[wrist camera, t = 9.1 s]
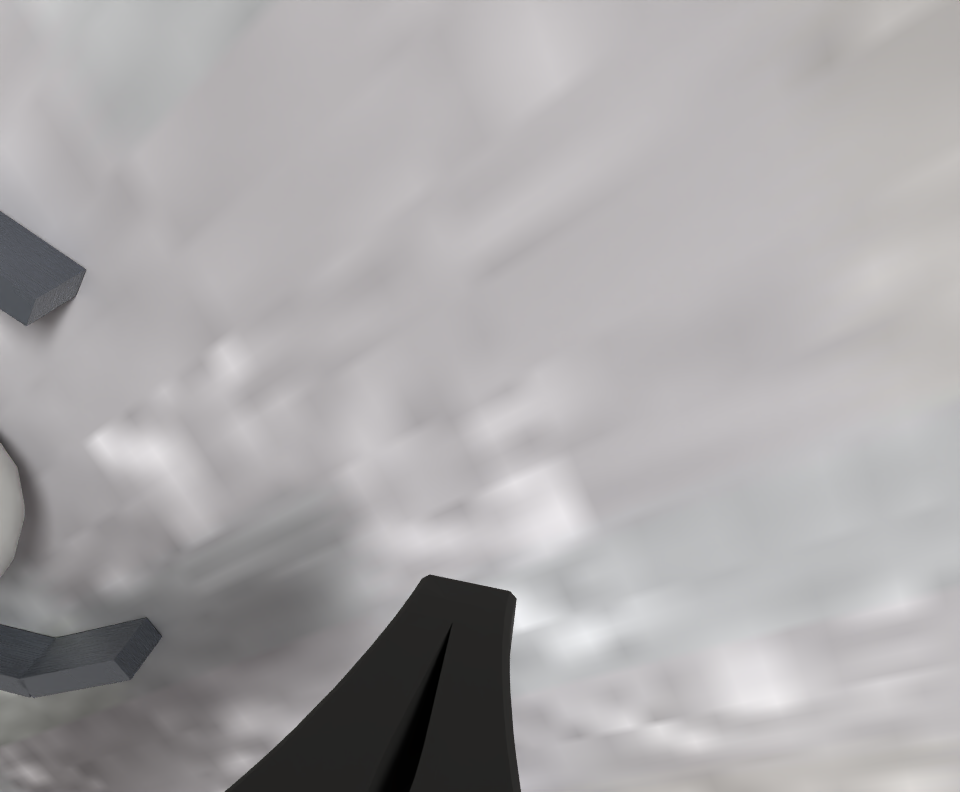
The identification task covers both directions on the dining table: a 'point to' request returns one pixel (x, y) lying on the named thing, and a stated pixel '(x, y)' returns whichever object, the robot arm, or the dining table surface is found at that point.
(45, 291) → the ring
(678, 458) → the dining table surface
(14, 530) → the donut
